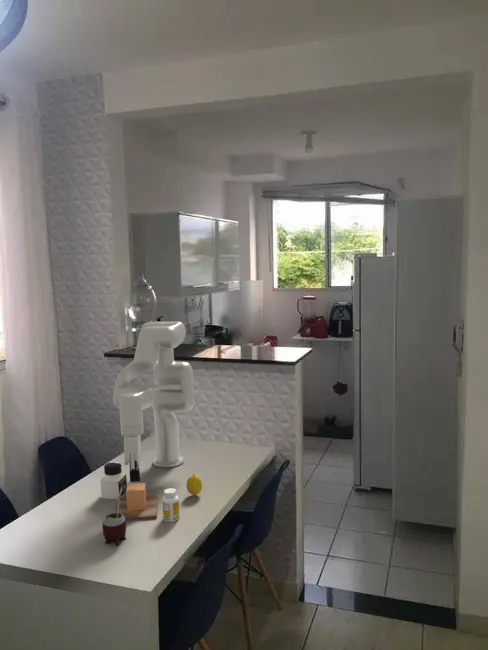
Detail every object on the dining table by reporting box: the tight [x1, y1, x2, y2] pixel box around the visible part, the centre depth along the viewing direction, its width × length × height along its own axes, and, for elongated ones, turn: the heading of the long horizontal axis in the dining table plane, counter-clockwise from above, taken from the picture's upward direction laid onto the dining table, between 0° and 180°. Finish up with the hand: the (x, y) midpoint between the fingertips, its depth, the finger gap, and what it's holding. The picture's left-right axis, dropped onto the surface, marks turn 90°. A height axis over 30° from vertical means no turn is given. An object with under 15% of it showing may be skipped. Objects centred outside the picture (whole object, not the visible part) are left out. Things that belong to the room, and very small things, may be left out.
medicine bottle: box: [99, 461, 128, 500], centre depth 205 cm, size 7×7×12 cm
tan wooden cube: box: [125, 482, 147, 511], centre depth 193 cm, size 6×6×7 cm
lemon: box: [186, 474, 203, 497], centre depth 202 cm, size 6×6×8 cm
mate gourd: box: [102, 487, 127, 547], centre depth 172 cm, size 8×8×15 cm
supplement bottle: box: [161, 487, 180, 523], centre depth 186 cm, size 5×5×10 cm
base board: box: [114, 494, 159, 522], centre depth 194 cm, size 16×14×1 cm
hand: (135, 480), depth 192 cm, fingers closed
